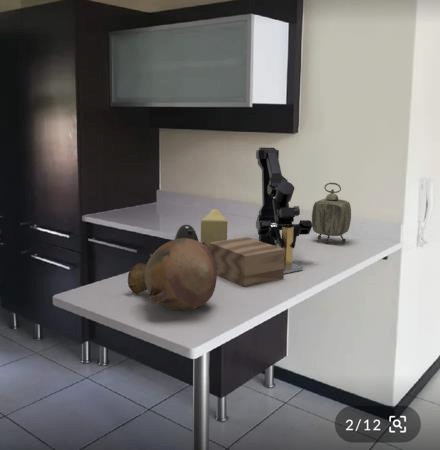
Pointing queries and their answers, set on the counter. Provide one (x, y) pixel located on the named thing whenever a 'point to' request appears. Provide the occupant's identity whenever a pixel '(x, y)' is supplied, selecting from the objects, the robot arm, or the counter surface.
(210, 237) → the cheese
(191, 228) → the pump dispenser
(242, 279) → the brown wooden block
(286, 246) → the grey plate wooden post
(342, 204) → the tabletop clock
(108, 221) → the counter surface
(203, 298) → the jug
